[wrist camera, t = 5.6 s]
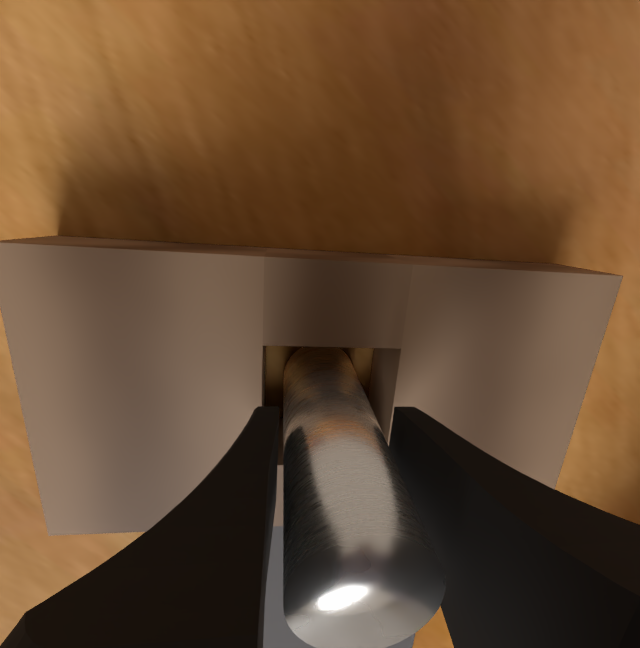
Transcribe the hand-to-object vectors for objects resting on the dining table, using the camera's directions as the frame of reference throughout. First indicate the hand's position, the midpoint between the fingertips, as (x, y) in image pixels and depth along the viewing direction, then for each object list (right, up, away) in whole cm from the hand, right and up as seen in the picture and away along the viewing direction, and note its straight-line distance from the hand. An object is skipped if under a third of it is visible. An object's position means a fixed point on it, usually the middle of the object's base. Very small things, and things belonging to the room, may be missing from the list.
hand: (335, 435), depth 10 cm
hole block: (-1, +1, +4) cm, 4 cm away
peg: (-1, +1, +4) cm, 5 cm away
